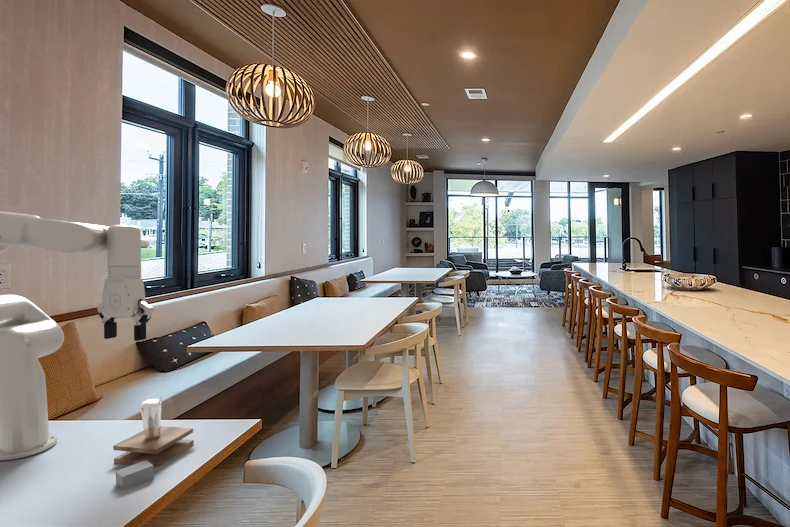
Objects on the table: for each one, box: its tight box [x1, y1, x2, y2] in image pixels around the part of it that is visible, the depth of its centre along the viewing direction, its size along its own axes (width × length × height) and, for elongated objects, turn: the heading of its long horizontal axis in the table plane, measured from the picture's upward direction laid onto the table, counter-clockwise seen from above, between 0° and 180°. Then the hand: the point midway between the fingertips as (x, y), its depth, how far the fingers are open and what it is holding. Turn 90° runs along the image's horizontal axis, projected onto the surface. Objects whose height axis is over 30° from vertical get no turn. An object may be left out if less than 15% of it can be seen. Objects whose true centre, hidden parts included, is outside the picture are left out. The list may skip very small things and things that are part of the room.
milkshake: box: [139, 396, 163, 440], centre depth 105 cm, size 5×5×10 cm
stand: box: [112, 425, 195, 468], centre depth 106 cm, size 12×12×4 cm
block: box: [115, 460, 155, 491], centre depth 92 cm, size 4×6×3 cm, turn 140°
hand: (125, 338), depth 113 cm, fingers open, 9 cm apart
